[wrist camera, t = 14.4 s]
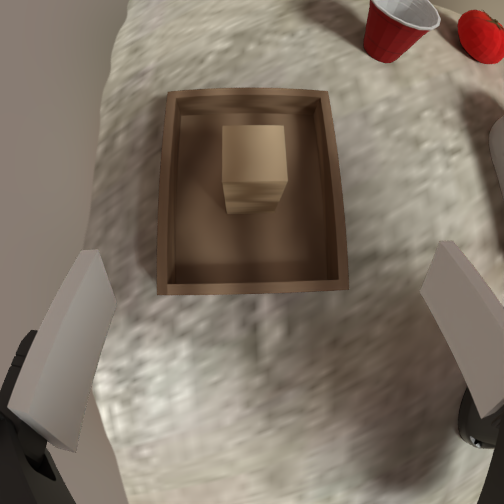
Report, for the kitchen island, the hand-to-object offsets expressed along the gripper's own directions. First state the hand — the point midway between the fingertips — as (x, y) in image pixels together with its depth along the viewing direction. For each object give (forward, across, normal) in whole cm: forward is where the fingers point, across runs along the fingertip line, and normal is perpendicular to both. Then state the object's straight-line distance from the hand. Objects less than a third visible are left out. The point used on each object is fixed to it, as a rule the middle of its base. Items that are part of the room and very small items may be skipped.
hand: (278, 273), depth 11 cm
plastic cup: (+41, +21, +10) cm, 47 cm away
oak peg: (+22, 0, -7) cm, 24 cm away
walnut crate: (+23, 0, -8) cm, 25 cm away
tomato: (+47, +46, +16) cm, 68 cm away
